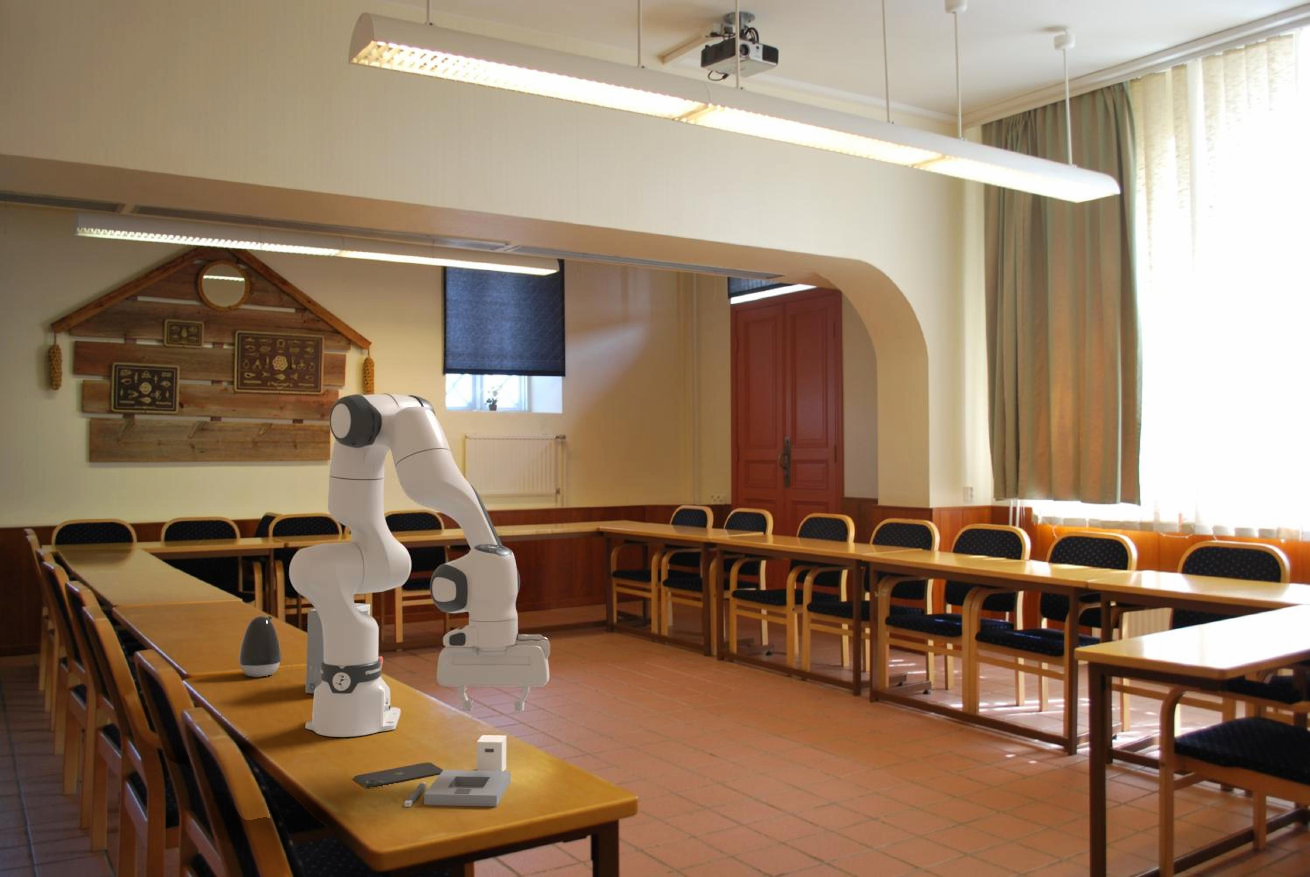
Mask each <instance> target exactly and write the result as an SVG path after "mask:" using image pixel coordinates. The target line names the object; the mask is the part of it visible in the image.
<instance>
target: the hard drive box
mask: <svg viewBox="0 0 1310 877" xmlns="http://www.w3.org/2000/svg"><path fill="white" fill-rule="evenodd" d="M354 603H355V602H354ZM355 606H356V608H357V609H358V610H360V611H363V612H365V613H367V614H369V615H370V616H371V604H370V603H360V602H359V603H357V602H356V603H355ZM306 634H307V636H306V639H307V640H306V670H305V672H306V673H305V693H306V694H313V695H314V690H315V688H317V686H319V685H320V684H321V682H322V679H321V663H322V662H323V661H324V649H323V630H322V624H321V620H320V617H319V615H318V613H317V611H316V609H315V608H313V609H309V610H308V611H307V633H306Z"/></svg>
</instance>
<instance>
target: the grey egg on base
mask: <svg viewBox="0 0 1310 877" xmlns="http://www.w3.org/2000/svg"><path fill="white" fill-rule="evenodd" d="M272 618H273V617H272V616H271V615H269V616H264V615H259V616H256V617H254V618H252V619H251V621H250V622H249V623H248V625H247V628H246V630H245V632H244V634H243V638H242V641H241V645H240V649H239V657H238V663H239V664H240V669H241V671H242V672H243V673H244V674H245V675H246V676H248V677H250V676H252V677H251V678H262V677H261V676H266V677H269V676H268V675H270V676H271V675H274V673H275V672H276V671H277V670H278V668H279V666H280V663H281V661H282V650H281V646H280V644H281V643H280V640H279V636H278V632H277V630H276V628H275V625H274V623H273V622H272ZM253 676H254V677H253Z"/></svg>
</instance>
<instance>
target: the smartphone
mask: <svg viewBox="0 0 1310 877" xmlns="http://www.w3.org/2000/svg"><path fill="white" fill-rule="evenodd" d="M443 770H444V769H442V768H441V767H440V766H437V765H435V764H433V763H432V762H421V763H420V762H419V763H416V764H410V765H405V766H400V767H395V768H390V769H384V770H379V771H374V772H369V773H363V774H357V775H354V776H353V779H354V780H353V781H355V780H356V781H357V782H356V781H355V782H356V783H358V782H359V783H360V784H359V783H358V784H359V785H361V784H362V785H363V786H362V785H361V786H362V787H364V786H365V787H367V788H366V789H371V788H370V787H376V788H378V787H377V786H381V787H384V786H383V785H386V786H390V785H389V784H391V785H395V784H394V783H396V784H399V783H400V784H401V783H405V782H410V780H411V781H415V780H420V779H425V778H430V777H435V776H439V775H440V774H441V773H442V771H443ZM365 787H364V788H365Z"/></svg>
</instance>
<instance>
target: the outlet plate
mask: <svg viewBox="0 0 1310 877" xmlns="http://www.w3.org/2000/svg"><path fill="white" fill-rule="evenodd" d="M511 782H512V771H510V770H505V771H477V769H476V770H471V769H469V770H467V769H463V770H462V769H443V771H442V773H441V774H440V775H437V777H436V778H435V780H434V781H433V783H432V784H431V785H430V786H429V788H428V789H427V790H426V791H425V793H424V797H423V799H424V804H423V805H424V806H445V807H446V806H450V807H452V806H453V807H454V806H455V807H456V806H457V807H497V806H498V805H499V803H500V802H501V800H502V798H503V796H504V795H505V792H506V791H507V788H508V787H509V785H510V783H511Z"/></svg>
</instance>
